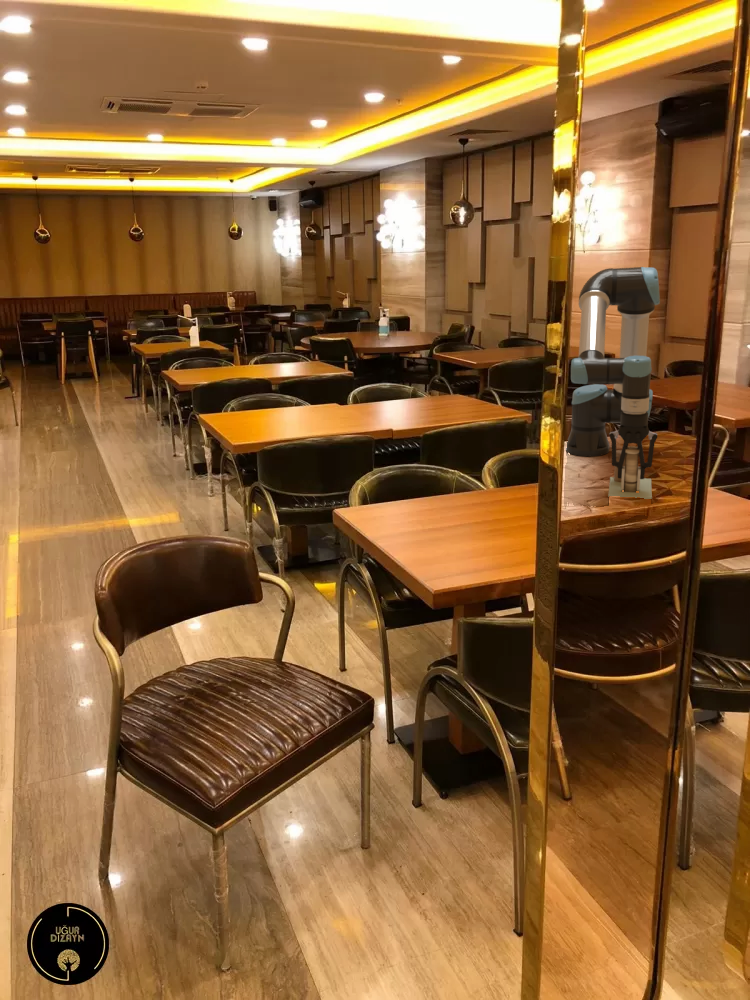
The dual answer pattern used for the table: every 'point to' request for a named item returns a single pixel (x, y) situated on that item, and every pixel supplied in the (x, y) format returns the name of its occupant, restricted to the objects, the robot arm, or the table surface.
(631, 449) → the peg
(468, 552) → the table surface
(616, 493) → the board
